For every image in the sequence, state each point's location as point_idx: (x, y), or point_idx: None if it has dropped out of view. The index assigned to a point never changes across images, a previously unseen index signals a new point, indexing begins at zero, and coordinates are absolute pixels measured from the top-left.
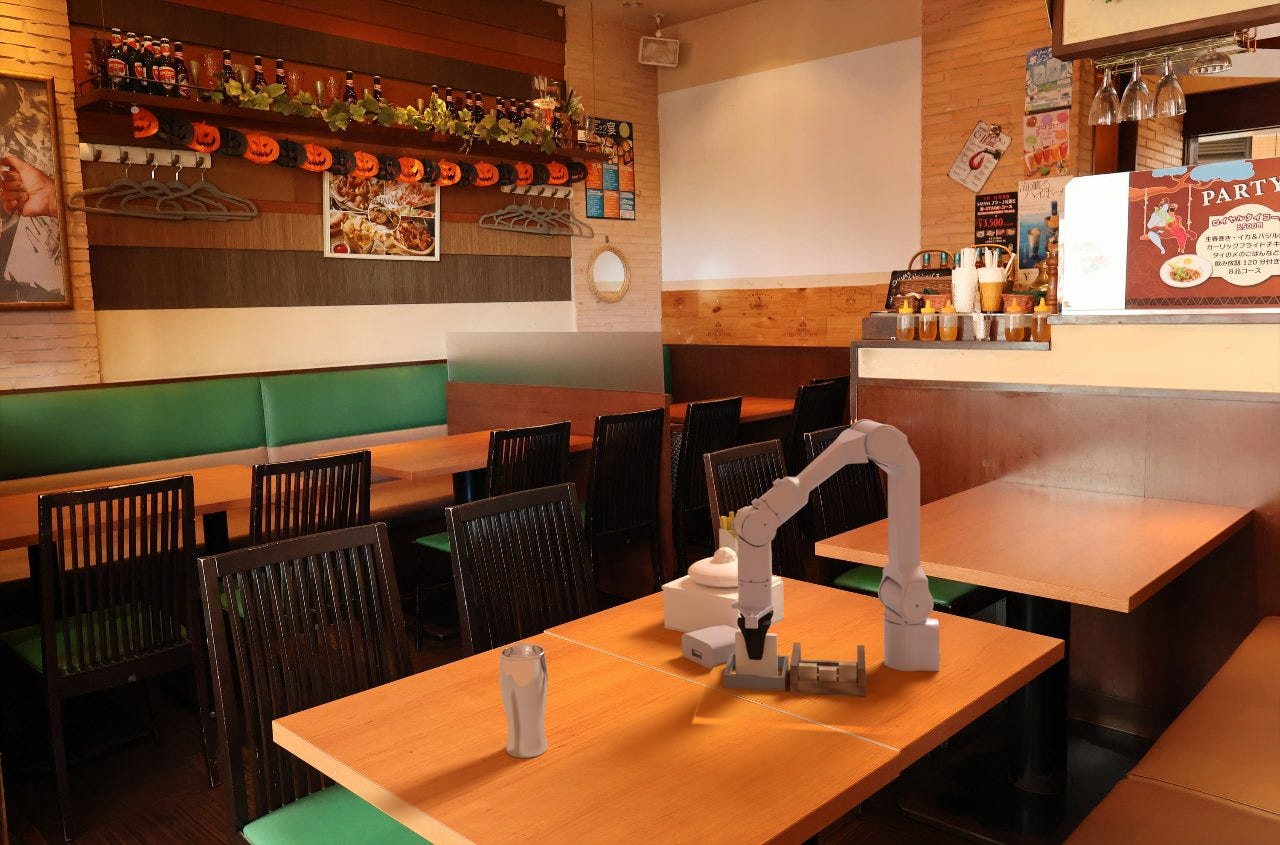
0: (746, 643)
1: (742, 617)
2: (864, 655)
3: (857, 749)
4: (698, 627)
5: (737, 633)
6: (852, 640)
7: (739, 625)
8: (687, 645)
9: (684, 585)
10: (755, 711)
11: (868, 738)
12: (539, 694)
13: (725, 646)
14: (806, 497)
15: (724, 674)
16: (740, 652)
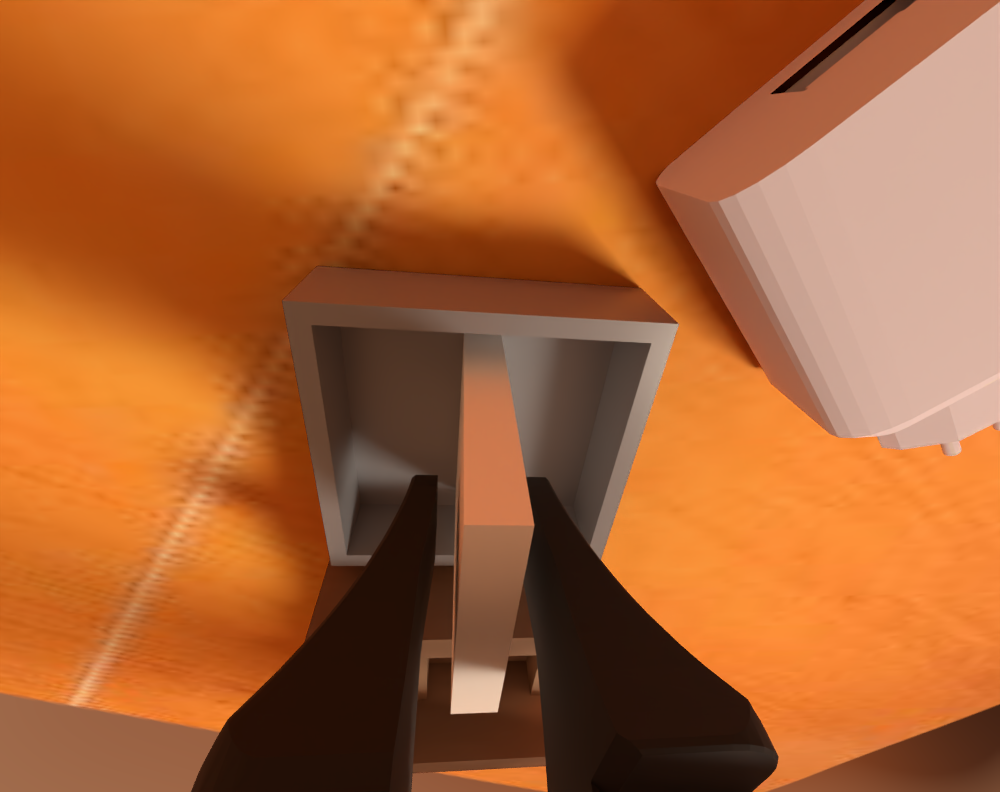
0: (370, 560)
1: (599, 710)
2: (468, 769)
3: (14, 655)
4: None
5: (485, 540)
6: (823, 631)
7: (211, 752)
8: None
9: None
10: (140, 419)
11: (106, 668)
12: None
13: (759, 300)
14: None
15: (289, 310)
16: (462, 445)
